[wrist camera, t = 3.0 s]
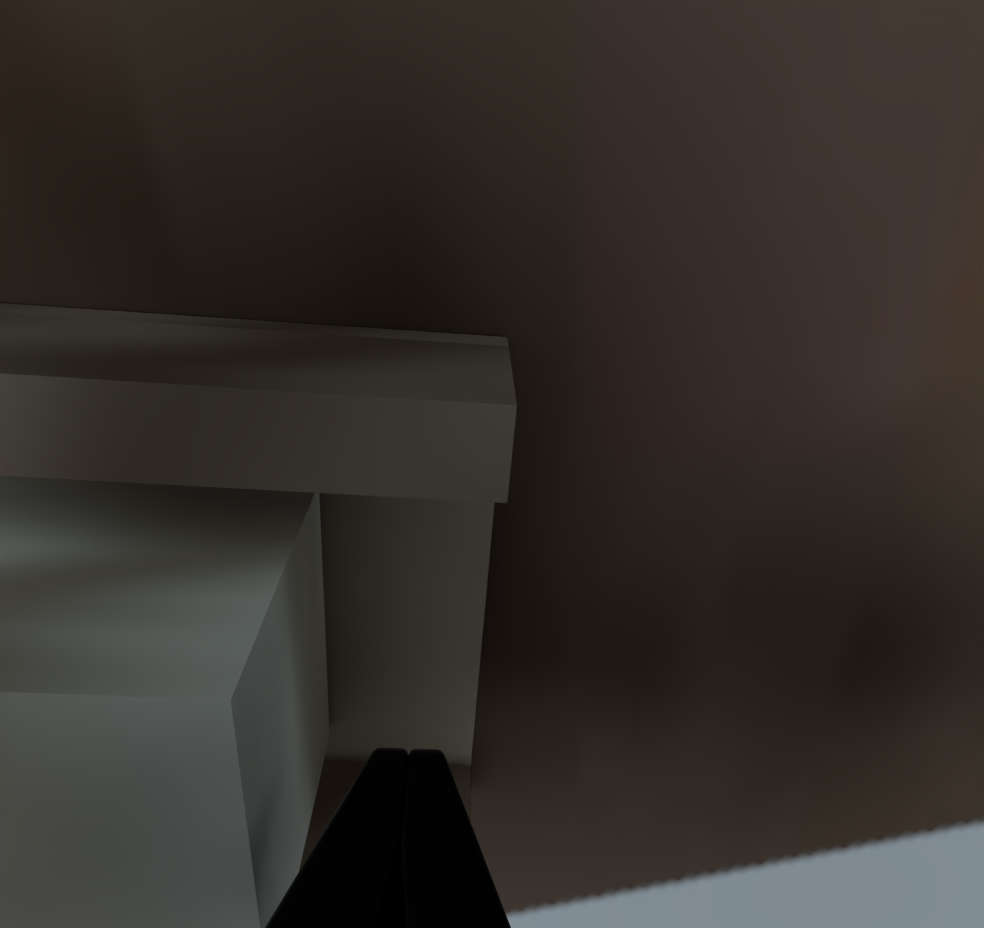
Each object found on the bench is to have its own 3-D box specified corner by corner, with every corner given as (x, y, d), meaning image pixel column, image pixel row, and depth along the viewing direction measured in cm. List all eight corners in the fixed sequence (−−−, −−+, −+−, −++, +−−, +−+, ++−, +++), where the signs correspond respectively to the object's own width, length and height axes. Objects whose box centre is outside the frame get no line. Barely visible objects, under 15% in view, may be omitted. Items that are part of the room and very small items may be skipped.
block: (318, 483, 10) (230, 701, 6) (329, 734, 12) (270, 998, 9) (-52, 462, 10) (-366, 678, 6) (31, 724, 12) (-159, 992, 8)
